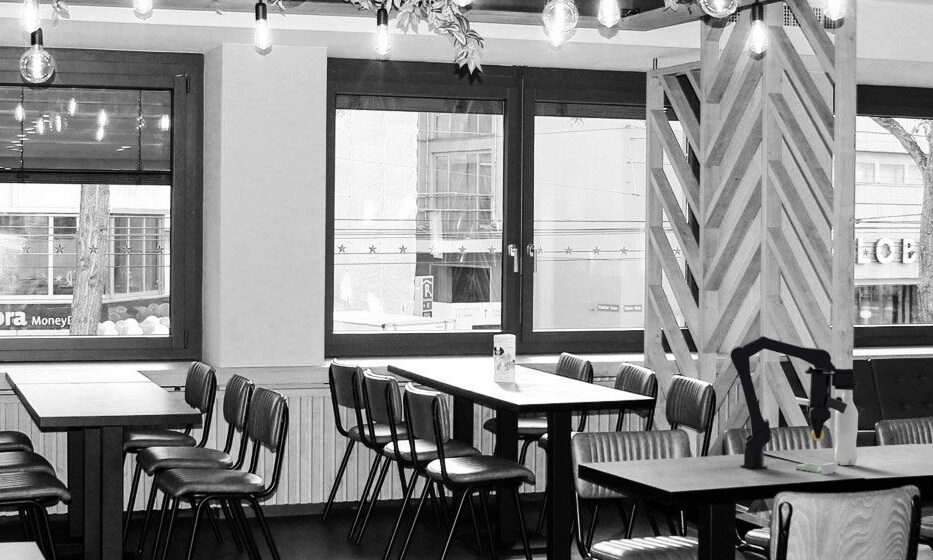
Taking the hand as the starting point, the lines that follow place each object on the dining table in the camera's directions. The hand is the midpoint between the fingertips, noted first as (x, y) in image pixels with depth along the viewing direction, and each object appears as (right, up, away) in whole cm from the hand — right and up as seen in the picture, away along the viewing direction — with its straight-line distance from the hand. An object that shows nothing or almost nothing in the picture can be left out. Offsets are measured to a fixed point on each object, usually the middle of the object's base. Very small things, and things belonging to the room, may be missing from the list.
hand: (817, 437), depth 373 cm
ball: (0, +1, 0) cm, 1 cm away
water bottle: (+13, -11, +14) cm, 23 cm away
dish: (-1, -11, +2) cm, 11 cm away
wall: (+2, -11, -4) cm, 12 cm away
